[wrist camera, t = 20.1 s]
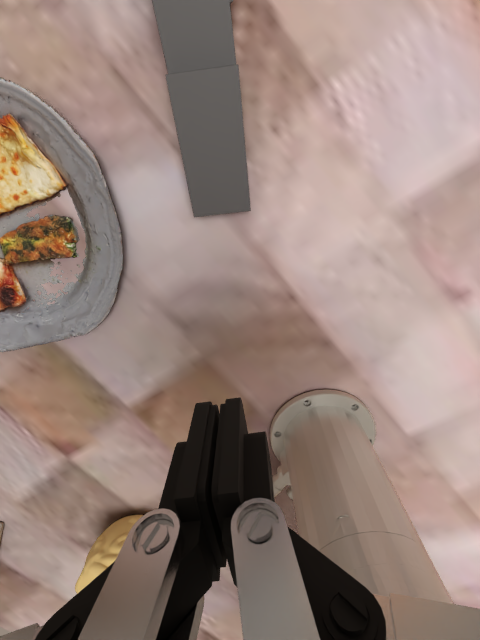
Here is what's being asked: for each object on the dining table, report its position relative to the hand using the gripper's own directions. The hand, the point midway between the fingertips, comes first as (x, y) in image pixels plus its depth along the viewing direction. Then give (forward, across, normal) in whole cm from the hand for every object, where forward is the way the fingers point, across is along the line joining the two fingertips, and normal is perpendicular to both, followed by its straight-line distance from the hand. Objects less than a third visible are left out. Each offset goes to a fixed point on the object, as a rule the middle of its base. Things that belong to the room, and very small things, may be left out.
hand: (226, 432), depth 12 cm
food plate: (+22, +22, -9) cm, 32 cm away
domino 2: (+21, 0, -7) cm, 22 cm away
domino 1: (+21, 0, -14) cm, 25 cm away
